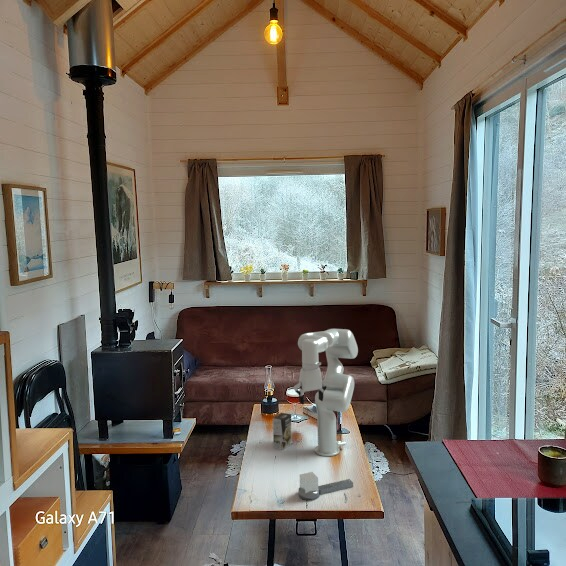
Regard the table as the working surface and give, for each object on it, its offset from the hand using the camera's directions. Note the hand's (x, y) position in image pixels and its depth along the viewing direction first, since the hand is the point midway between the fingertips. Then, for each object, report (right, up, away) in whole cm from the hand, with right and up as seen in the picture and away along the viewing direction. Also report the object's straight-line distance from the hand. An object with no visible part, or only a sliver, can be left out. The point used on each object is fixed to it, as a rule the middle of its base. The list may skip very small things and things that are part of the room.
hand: (311, 401), depth 246 cm
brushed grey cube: (-2, -33, -19) cm, 38 cm away
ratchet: (+5, -35, -15) cm, 39 cm away
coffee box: (-13, -30, +32) cm, 46 cm away
